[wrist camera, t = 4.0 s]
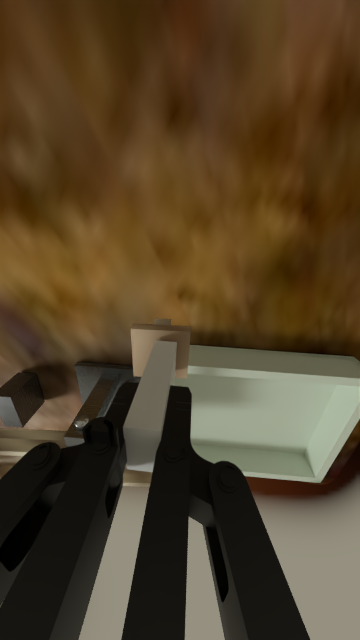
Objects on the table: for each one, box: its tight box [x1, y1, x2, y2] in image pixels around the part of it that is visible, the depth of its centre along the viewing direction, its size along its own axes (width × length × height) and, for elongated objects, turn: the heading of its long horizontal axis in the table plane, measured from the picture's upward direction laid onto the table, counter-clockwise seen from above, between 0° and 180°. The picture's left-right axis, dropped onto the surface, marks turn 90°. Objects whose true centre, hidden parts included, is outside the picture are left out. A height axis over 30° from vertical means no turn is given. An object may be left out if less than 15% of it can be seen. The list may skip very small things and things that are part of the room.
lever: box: [0, 319, 191, 487], centre depth 18 cm, size 22×18×3 cm
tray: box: [173, 345, 360, 483], centre depth 26 cm, size 24×18×4 cm
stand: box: [0, 362, 141, 447], centre depth 24 cm, size 18×10×9 cm, turn 87°
